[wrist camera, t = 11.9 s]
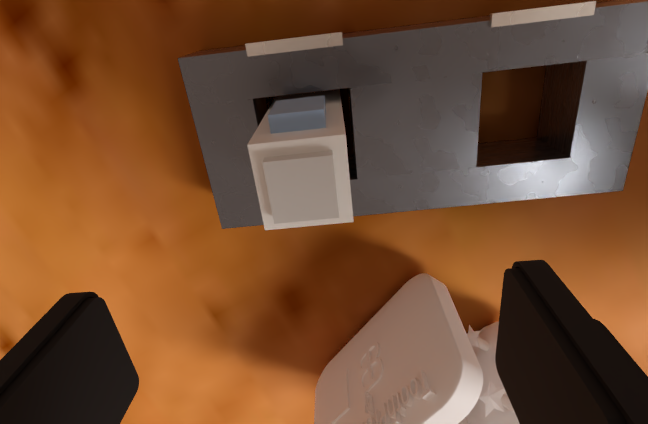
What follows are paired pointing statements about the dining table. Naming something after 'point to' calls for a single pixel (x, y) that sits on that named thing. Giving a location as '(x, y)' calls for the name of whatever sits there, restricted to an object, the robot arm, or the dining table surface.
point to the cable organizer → (415, 367)
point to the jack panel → (438, 106)
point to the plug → (302, 162)
